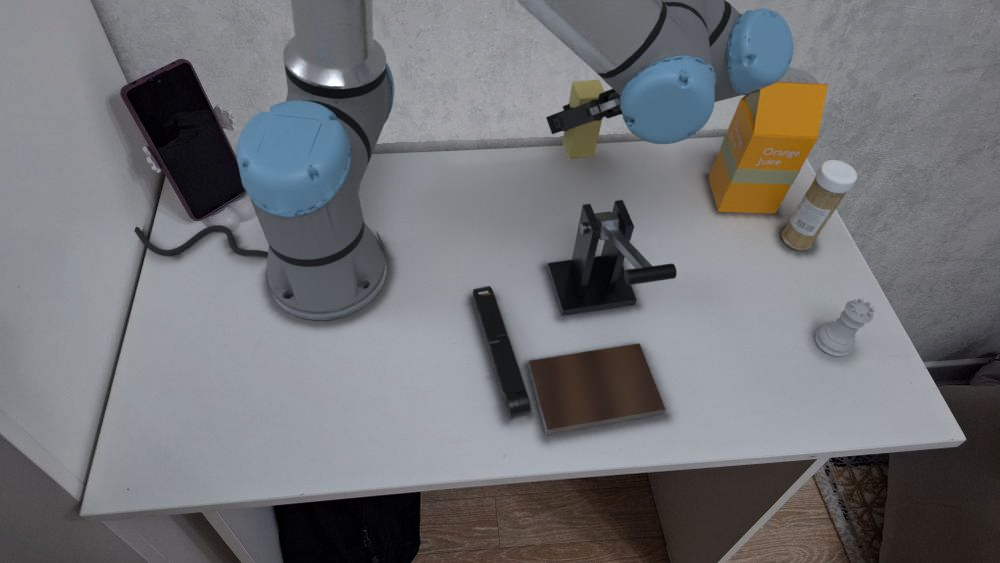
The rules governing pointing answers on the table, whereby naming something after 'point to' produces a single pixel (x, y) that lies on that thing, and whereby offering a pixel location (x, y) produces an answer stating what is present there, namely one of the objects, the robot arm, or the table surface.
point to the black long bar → (501, 353)
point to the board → (594, 389)
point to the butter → (584, 136)
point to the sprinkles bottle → (818, 204)
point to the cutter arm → (632, 253)
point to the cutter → (593, 268)
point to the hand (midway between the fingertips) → (566, 118)
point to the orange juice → (766, 146)
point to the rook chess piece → (844, 328)
